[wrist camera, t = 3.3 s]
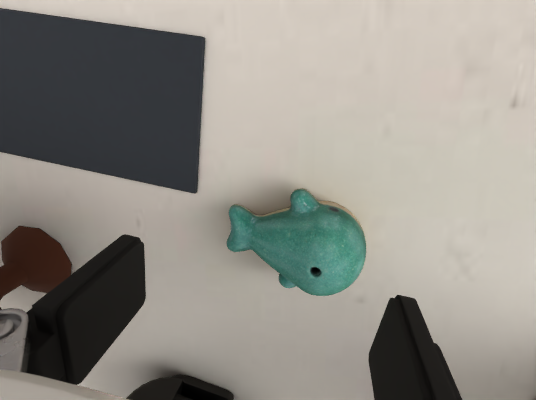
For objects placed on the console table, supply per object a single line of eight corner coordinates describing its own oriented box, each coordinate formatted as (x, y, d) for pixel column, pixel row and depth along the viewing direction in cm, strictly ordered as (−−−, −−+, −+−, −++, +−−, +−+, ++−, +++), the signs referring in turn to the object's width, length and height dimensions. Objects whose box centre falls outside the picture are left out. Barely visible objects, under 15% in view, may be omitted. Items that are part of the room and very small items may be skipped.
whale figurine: (348, 286, 18) (352, 335, 14) (229, 257, 19) (206, 297, 15) (375, 195, 15) (388, 227, 12) (239, 168, 16) (213, 191, 13)
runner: (205, 37, 14) (202, 36, 14) (197, 192, 17) (195, 193, 17) (-128, -10, 17) (-136, -11, 17) (-84, 132, 20) (-90, 132, 20)
